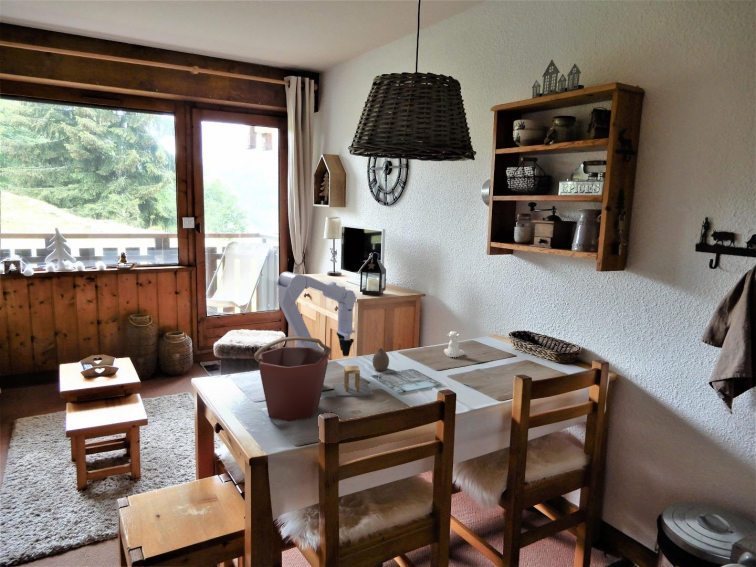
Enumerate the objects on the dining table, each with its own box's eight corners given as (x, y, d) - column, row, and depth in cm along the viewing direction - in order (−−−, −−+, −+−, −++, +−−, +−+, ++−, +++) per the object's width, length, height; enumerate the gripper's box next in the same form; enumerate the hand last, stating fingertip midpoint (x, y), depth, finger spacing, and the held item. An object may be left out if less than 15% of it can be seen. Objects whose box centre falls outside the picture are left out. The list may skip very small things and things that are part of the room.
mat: (336, 396, 181) (336, 395, 181) (333, 385, 192) (333, 384, 192) (372, 395, 184) (372, 393, 184) (367, 384, 194) (367, 382, 194)
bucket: (331, 398, 180) (333, 329, 176) (327, 426, 158) (329, 348, 154) (261, 397, 179) (261, 328, 175) (248, 425, 157) (247, 346, 153)
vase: (387, 373, 208) (387, 352, 207) (370, 371, 209) (371, 350, 208) (390, 367, 215) (390, 347, 213) (374, 366, 216) (374, 346, 215)
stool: (345, 391, 185) (346, 370, 184) (344, 386, 190) (344, 366, 188) (359, 391, 186) (359, 370, 184) (357, 386, 191) (357, 365, 189)
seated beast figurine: (464, 354, 237) (466, 329, 235) (463, 359, 228) (464, 333, 227) (444, 352, 239) (445, 327, 237) (442, 357, 231) (443, 332, 229)
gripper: (358, 323, 193) (357, 358, 195) (352, 315, 207) (352, 347, 209) (339, 324, 192) (339, 358, 194) (335, 315, 206) (334, 347, 208)
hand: (344, 353), depth 202 cm, fingers open, 7 cm apart
